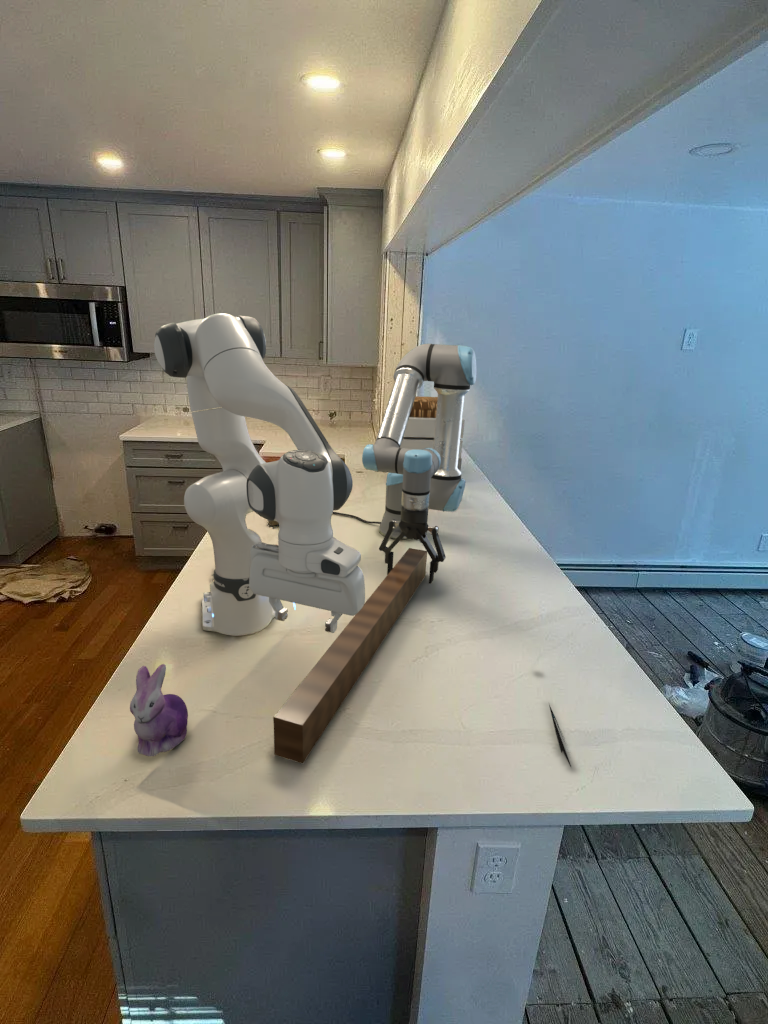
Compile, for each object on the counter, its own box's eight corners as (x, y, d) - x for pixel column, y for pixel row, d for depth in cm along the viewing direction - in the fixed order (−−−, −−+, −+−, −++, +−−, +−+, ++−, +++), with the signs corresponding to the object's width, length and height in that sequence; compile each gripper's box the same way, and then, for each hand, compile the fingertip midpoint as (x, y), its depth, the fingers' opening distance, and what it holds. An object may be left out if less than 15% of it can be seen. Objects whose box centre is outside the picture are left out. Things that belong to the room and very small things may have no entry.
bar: (407, 572, 171) (409, 547, 168) (425, 576, 169) (427, 551, 166) (274, 754, 100) (273, 716, 97) (302, 763, 98) (302, 725, 95)
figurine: (137, 767, 96) (127, 693, 90) (132, 728, 104) (122, 659, 99) (195, 750, 100) (189, 678, 95) (185, 714, 108) (179, 646, 103)
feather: (538, 678, 126) (544, 672, 125) (570, 771, 99) (578, 764, 99) (532, 674, 126) (537, 668, 125) (563, 766, 99) (570, 759, 98)
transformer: (382, 463, 289) (386, 382, 275) (445, 464, 293) (451, 384, 279) (390, 482, 257) (394, 392, 243) (460, 483, 261) (468, 394, 247)
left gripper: (239, 547, 93) (243, 620, 98) (355, 569, 87) (353, 647, 91) (260, 533, 98) (262, 604, 103) (370, 554, 92) (367, 628, 97)
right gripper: (369, 504, 156) (366, 575, 163) (454, 517, 149) (447, 591, 156) (378, 496, 163) (375, 565, 170) (460, 509, 156) (453, 580, 163)
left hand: (306, 624), depth 97 cm, fingers open, 8 cm apart
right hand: (410, 577), depth 163 cm, fingers open, 12 cm apart
